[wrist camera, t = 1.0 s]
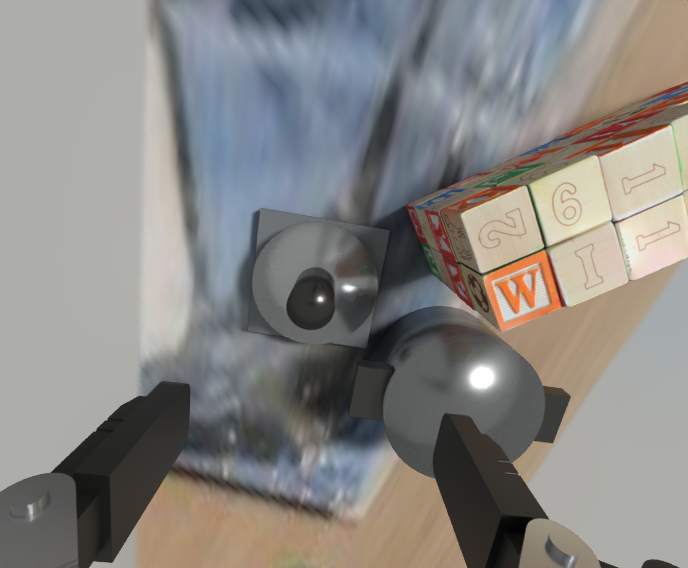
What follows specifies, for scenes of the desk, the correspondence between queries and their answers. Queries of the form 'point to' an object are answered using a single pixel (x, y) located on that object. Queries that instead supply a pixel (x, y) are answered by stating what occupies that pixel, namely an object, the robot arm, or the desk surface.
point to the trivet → (369, 236)
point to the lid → (315, 283)
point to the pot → (452, 386)
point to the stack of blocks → (565, 215)
